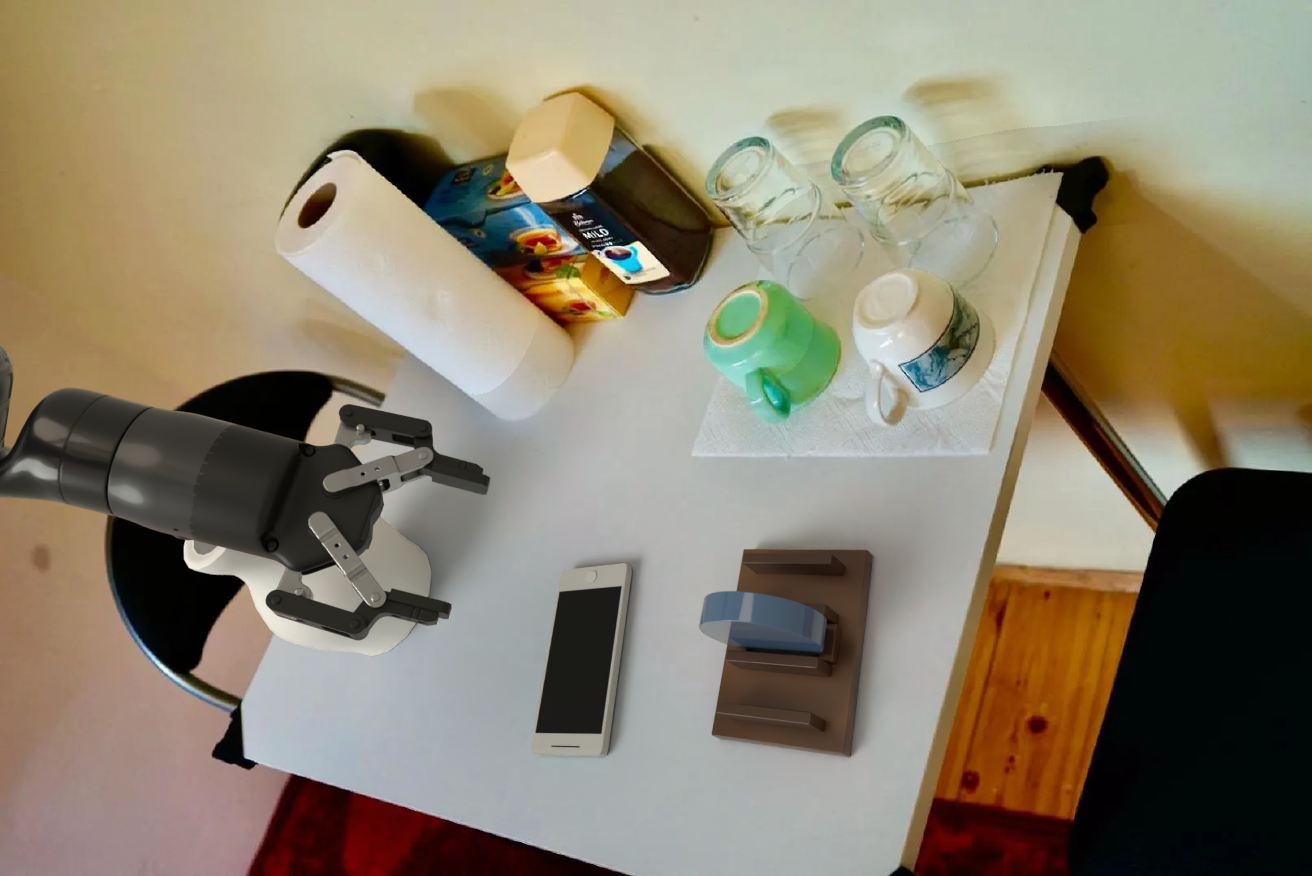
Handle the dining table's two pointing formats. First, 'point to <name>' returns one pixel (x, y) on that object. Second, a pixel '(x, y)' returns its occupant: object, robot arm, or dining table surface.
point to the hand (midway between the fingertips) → (469, 546)
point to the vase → (327, 587)
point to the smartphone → (582, 662)
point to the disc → (763, 623)
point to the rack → (793, 686)
